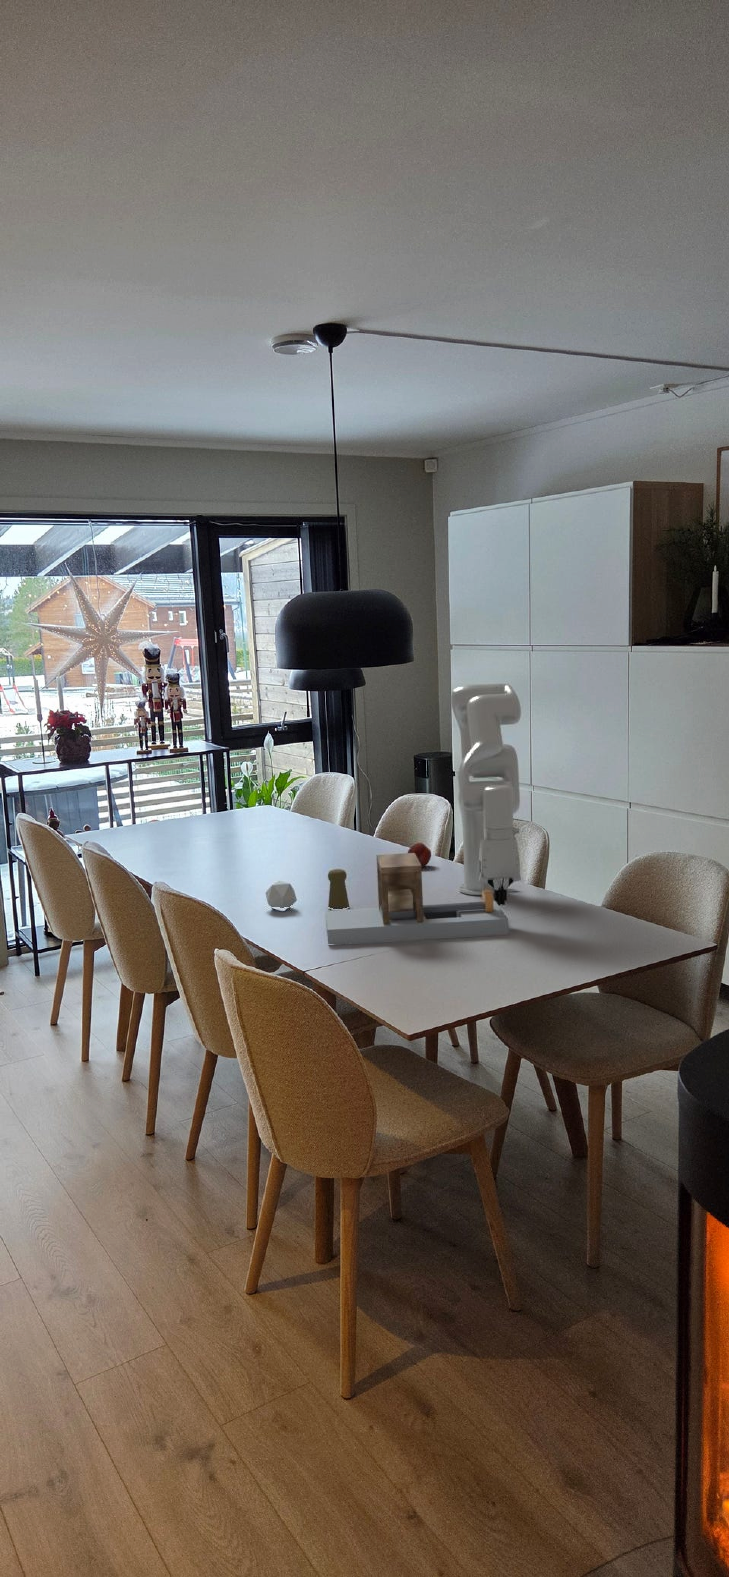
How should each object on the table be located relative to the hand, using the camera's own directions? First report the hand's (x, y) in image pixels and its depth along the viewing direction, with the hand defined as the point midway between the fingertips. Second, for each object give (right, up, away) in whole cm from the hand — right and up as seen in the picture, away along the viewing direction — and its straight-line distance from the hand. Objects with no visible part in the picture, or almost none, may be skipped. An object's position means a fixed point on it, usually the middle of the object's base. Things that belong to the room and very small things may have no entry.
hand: (500, 903), depth 267 cm
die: (-58, -5, +25) cm, 64 cm away
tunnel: (-26, -3, -1) cm, 26 cm away
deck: (-22, -7, 0) cm, 23 cm away
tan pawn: (-42, -4, +24) cm, 49 cm away
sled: (-17, -2, -1) cm, 17 cm away
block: (-26, -3, -1) cm, 26 cm away
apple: (-17, +4, +70) cm, 72 cm away
